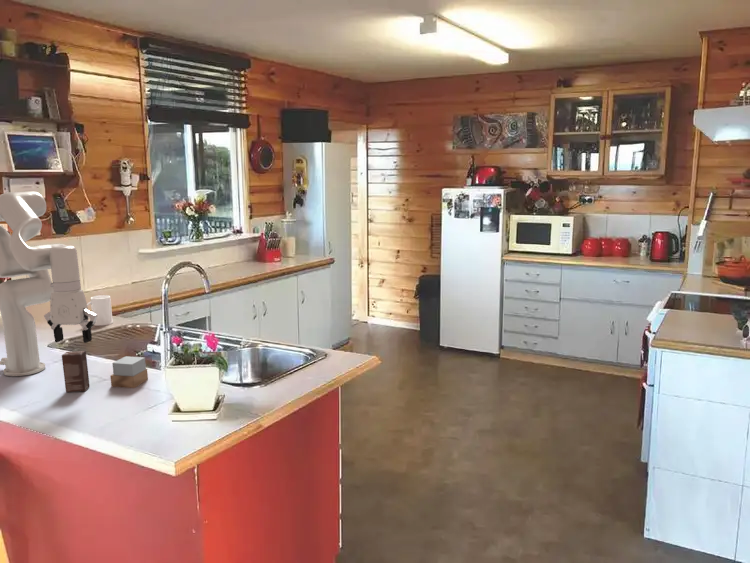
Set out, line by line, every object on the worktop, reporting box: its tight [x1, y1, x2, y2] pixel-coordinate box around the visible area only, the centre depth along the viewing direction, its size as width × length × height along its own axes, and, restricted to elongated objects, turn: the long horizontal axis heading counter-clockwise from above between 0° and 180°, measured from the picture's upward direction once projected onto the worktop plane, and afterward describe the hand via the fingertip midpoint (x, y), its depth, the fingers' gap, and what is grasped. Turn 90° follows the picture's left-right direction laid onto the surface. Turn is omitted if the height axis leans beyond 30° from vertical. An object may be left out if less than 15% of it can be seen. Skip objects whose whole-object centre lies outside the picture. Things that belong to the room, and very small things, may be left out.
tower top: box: [111, 355, 147, 376], centre depth 202 cm, size 7×7×4 cm
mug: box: [86, 294, 114, 327], centre depth 277 cm, size 12×8×12 cm
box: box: [61, 350, 90, 393], centre depth 196 cm, size 6×4×12 cm
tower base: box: [109, 368, 149, 389], centre depth 203 cm, size 8×8×4 cm
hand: (73, 341), depth 194 cm, fingers open, 9 cm apart
